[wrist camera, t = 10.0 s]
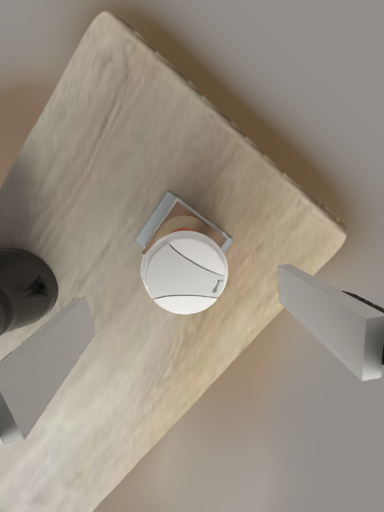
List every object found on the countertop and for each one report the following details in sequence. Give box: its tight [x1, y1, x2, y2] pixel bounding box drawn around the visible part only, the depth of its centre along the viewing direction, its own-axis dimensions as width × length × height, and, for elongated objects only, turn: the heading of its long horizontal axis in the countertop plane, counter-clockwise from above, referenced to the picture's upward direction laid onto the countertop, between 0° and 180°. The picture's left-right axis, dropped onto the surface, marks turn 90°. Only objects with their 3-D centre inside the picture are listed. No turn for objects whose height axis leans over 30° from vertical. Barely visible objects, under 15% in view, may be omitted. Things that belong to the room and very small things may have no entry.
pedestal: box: [142, 201, 227, 254], centre depth 35 cm, size 10×10×5 cm
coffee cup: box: [141, 228, 228, 314], centre depth 25 cm, size 8×8×15 cm
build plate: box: [134, 191, 233, 253], centre depth 38 cm, size 15×11×1 cm
